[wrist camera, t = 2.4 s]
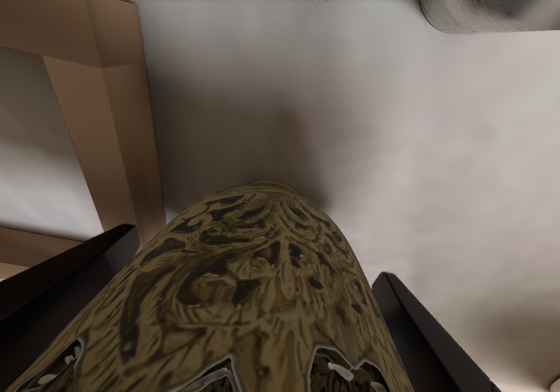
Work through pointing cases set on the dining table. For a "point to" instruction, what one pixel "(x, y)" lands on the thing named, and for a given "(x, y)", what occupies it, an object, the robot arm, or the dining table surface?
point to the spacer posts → (491, 15)
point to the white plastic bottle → (555, 386)
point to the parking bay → (92, 113)
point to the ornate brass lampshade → (230, 309)
